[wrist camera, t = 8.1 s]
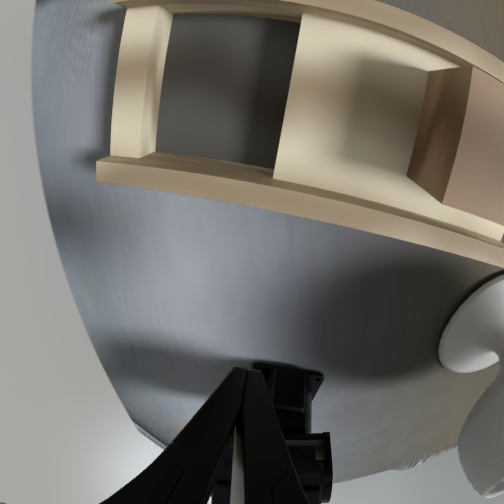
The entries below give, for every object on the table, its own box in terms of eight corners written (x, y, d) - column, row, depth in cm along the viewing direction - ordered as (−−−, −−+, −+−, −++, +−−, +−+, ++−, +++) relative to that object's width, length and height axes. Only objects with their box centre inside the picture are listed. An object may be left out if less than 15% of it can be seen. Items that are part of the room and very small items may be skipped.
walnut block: (485, 203, 14) (527, 236, 10) (406, 176, 14) (441, 204, 10) (508, 112, 11) (557, 124, 7) (428, 71, 11) (472, 65, 7)
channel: (477, 240, 18) (504, 267, 14) (129, 165, 19) (96, 181, 15) (517, 95, 12) (553, 101, 9) (149, 0, 13) (118, -16, 10)
